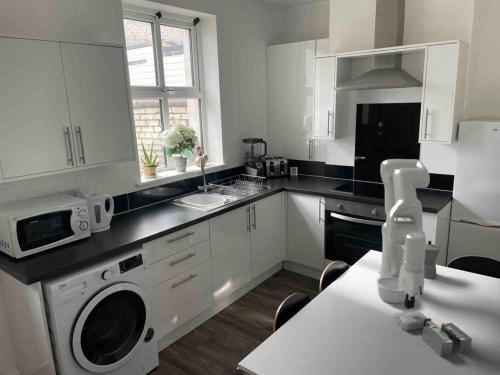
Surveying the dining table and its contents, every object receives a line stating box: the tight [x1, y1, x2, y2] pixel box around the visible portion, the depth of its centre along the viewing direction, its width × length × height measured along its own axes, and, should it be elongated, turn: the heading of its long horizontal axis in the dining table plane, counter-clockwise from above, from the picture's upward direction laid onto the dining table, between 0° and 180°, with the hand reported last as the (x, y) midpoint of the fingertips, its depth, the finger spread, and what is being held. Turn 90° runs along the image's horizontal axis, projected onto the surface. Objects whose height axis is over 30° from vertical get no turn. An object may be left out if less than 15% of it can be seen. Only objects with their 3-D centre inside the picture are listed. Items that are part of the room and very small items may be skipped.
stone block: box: [392, 309, 428, 332], centre depth 152 cm, size 12×5×10 cm
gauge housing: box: [421, 322, 473, 357], centre depth 138 cm, size 10×12×5 cm
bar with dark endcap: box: [424, 317, 449, 338], centre depth 143 cm, size 11×2×6 cm, turn 12°
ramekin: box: [376, 277, 406, 304], centre depth 171 cm, size 13×13×7 cm
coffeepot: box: [423, 240, 442, 279], centre depth 190 cm, size 15×9×18 cm, turn 103°
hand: (409, 307), depth 152 cm, fingers closed
